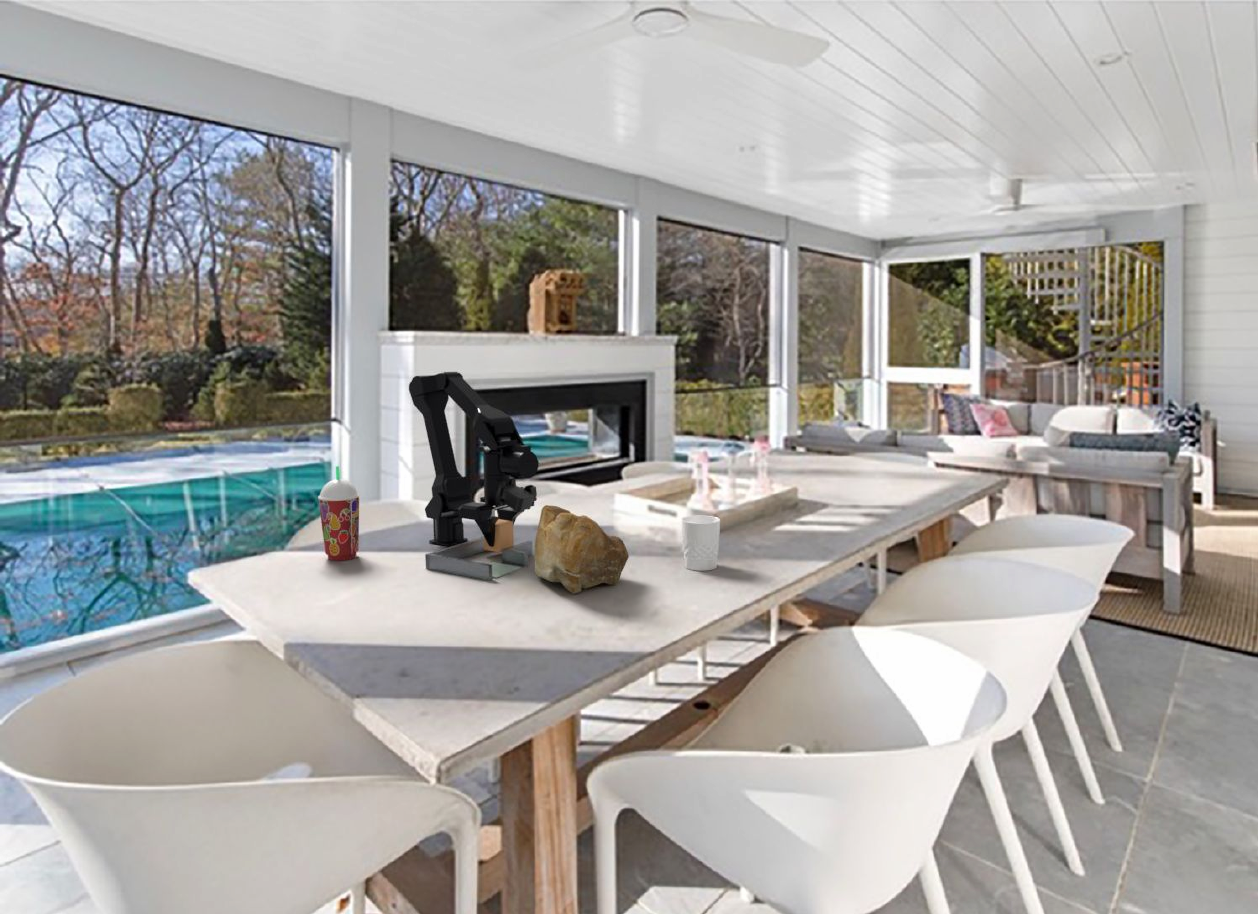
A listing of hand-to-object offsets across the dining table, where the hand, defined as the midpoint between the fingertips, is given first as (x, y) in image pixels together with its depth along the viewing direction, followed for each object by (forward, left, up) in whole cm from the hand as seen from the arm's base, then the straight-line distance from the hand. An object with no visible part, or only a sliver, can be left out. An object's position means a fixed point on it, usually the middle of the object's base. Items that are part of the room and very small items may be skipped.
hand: (498, 544), depth 173 cm
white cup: (+42, +14, -3) cm, 44 cm away
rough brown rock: (+28, -7, -3) cm, 29 cm away
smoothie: (-28, -19, -3) cm, 34 cm away
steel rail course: (+3, -6, -2) cm, 7 cm away
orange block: (0, 0, -1) cm, 1 cm away
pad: (+7, -10, -2) cm, 12 cm away
